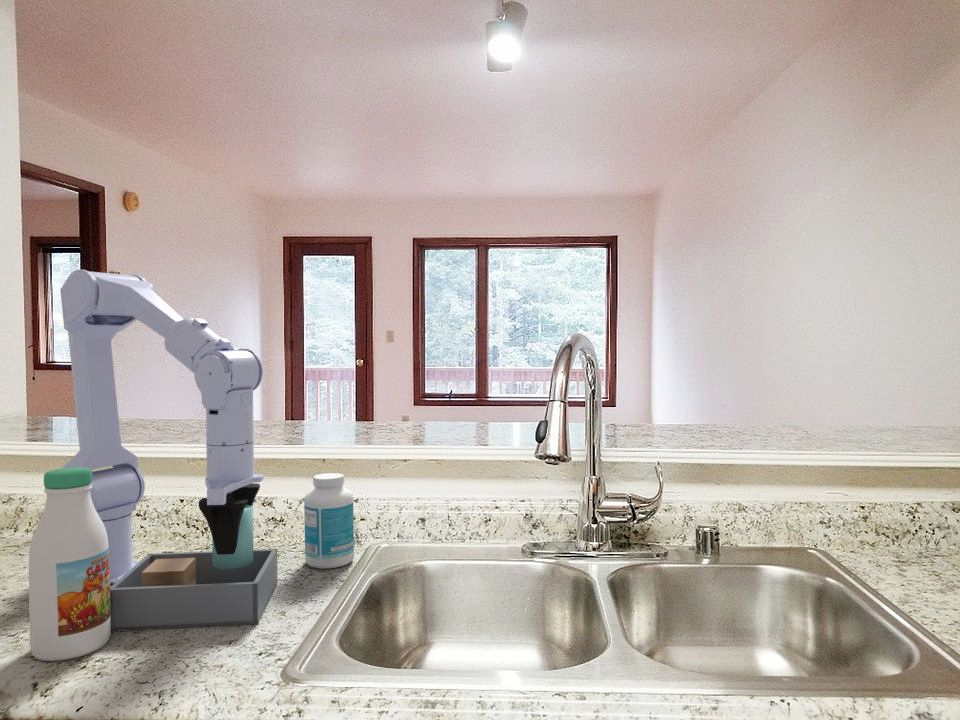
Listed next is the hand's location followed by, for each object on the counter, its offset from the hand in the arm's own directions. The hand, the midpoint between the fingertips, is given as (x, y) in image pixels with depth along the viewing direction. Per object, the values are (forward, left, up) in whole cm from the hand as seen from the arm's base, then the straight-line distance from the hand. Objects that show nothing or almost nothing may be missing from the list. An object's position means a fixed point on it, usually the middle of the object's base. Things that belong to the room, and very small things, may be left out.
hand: (231, 546), depth 86 cm
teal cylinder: (0, 0, -2) cm, 2 cm away
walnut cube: (-8, 0, -7) cm, 10 cm away
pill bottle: (+11, +15, -8) cm, 20 cm away
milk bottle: (-15, -10, -8) cm, 20 cm away
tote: (-4, 0, -8) cm, 9 cm away
